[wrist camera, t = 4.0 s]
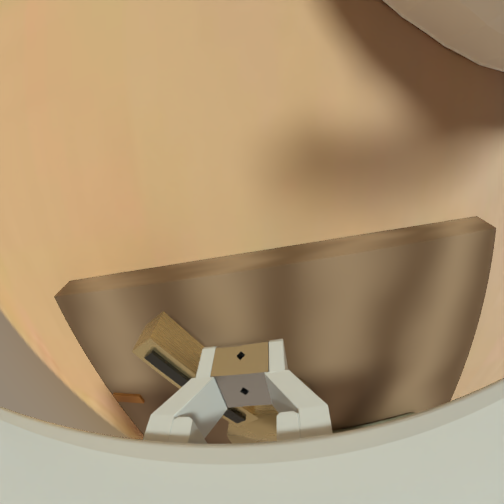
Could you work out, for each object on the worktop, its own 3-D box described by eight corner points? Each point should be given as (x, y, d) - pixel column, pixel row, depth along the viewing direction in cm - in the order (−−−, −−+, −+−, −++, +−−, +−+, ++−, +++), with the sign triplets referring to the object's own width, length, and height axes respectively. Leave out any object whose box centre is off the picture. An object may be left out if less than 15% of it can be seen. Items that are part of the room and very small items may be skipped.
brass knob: (327, 399, 17) (333, 439, 14) (266, 426, 19) (265, 463, 16) (192, 280, 14) (174, 321, 11) (134, 328, 15) (112, 367, 12)
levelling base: (476, 216, 14) (518, 242, 10) (429, 415, 22) (441, 447, 18) (69, 281, 17) (36, 315, 13) (171, 446, 25) (163, 478, 21)
